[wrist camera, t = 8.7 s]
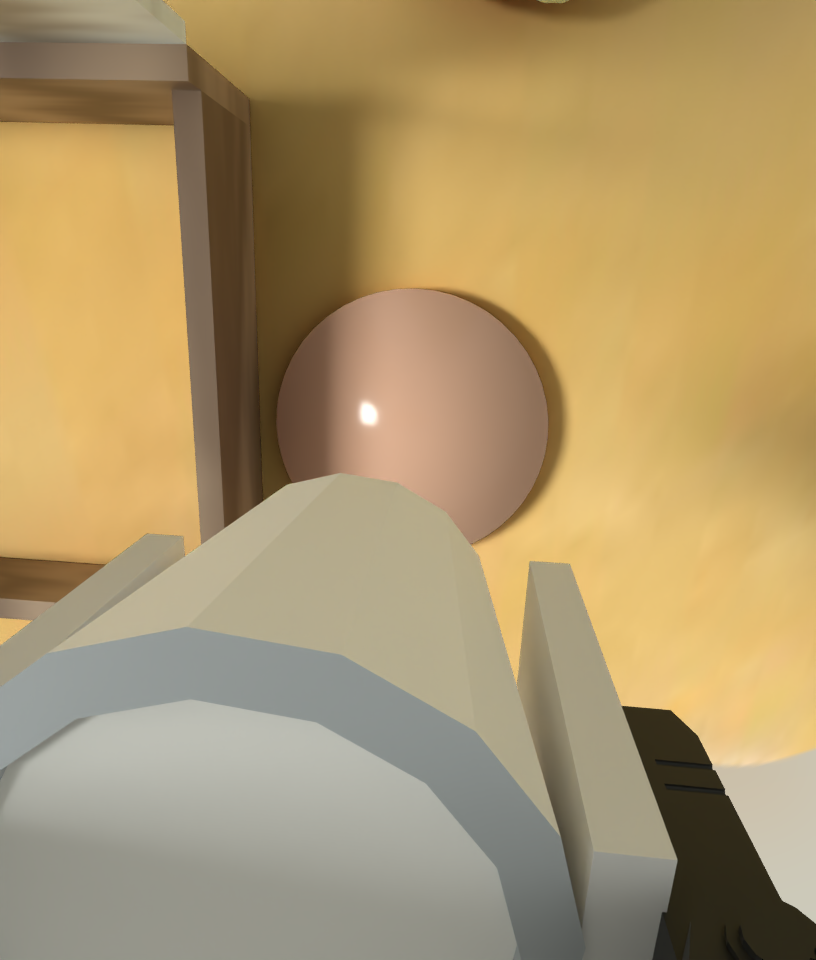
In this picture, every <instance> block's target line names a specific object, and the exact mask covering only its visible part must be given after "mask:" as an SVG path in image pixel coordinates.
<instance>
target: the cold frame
mask: <svg viewBox="0 0 816 960" xmlns="http://www.w3.org/2000/svg"><path fill="white" fill-rule="evenodd" d="M0 121H4V122H51V123H98V124H145V125H174V134H175V149H176V164H177V180H178V195H179V210H180V226H181V241H182V256H183V272H184V287H185V302H186V318H187V333H188V349H189V364H190V379H191V395H192V410H193V425H194V441H195V456H196V471H197V487H198V502H199V517H200V533H201V545H202V544H203V543H204V542H206V541H207V540H209V539H210V538H212V537H213V536H214V535H216V534H217V533H219V532H220V531H222V530H223V529H224V528H226V527H227V526H229V525H230V524H231V523H233V522H234V521H236V520H237V519H239V518H240V517H241V516H243V515H244V514H246V513H247V512H249V511H250V510H251V509H253V508H254V507H256V506H257V505H258V504H260V503H261V502H263V496H262V466H261V436H260V405H259V375H258V345H257V315H256V285H255V255H254V225H253V195H252V165H251V134H250V104H249V98H248V97H247V96H246V95H244V94H243V93H242V92H241V91H240V90H239V89H238V88H236V87H235V86H234V85H233V84H232V83H231V82H229V81H228V80H227V79H226V78H225V77H224V76H223V75H221V74H220V73H219V72H218V71H217V70H216V69H214V68H213V67H212V66H211V65H210V64H209V63H208V62H206V61H205V60H204V59H203V58H202V57H201V56H199V55H198V54H197V53H196V52H195V51H194V50H192V49H191V48H190V47H189V46H188V45H187V44H186V29H185V21H184V20H183V19H182V18H181V17H180V16H179V15H178V14H177V13H176V12H174V11H173V10H172V9H171V8H170V7H169V6H168V5H167V4H166V3H165V2H164V1H163V0H0ZM104 566H105V565H98V564H84V563H70V562H57V561H43V560H29V559H15V558H2V557H0V618H9V619H21V620H34V619H36V618H37V617H38V616H40V615H41V614H42V613H44V612H45V611H46V610H48V609H49V608H50V607H51V606H53V605H54V604H55V603H57V602H58V601H59V600H61V599H62V598H63V597H65V596H66V595H67V594H68V593H70V592H71V591H72V590H74V589H75V588H76V587H78V586H79V585H80V584H82V583H83V582H84V581H85V580H87V579H88V578H89V577H91V576H92V575H93V574H95V573H96V572H97V571H99V570H100V569H101V568H103V567H104Z"/></svg>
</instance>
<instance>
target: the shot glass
mask: <svg viewBox="0 0 816 960" xmlns="http://www.w3.org/2000/svg"><path fill="white" fill-rule="evenodd" d="M585 948H586V947H585V943H584V938H583V934H582V929H581V925H580V921H579V916H578V912H577V907H576V903H575V898H574V894H573V889H572V885H571V880H570V876H569V871H568V867H567V862H566V858H565V853H564V849H563V844H562V840H561V836H560V832H559V829H558V826H557V822H556V819H555V815H554V812H553V808H552V805H551V802H550V798H549V795H548V791H547V788H546V785H545V781H544V778H543V774H542V771H541V767H540V764H539V761H538V757H537V754H536V750H535V747H534V743H533V740H532V737H531V733H530V730H529V726H528V723H527V719H526V716H525V713H524V709H523V706H522V702H521V699H520V695H519V692H518V689H517V685H516V682H515V678H514V675H513V671H512V668H511V665H510V661H509V658H508V654H507V651H506V647H505V644H504V641H503V637H502V634H501V630H500V627H499V624H498V620H497V617H496V613H495V610H494V606H493V603H492V600H491V596H490V593H489V589H488V586H487V582H486V579H485V576H484V572H483V569H482V565H481V562H480V558H479V555H478V554H477V553H476V551H475V550H474V549H473V547H472V546H471V545H470V543H469V542H468V541H467V539H466V538H465V537H464V535H463V534H462V533H461V531H460V530H459V529H458V527H457V526H456V525H455V523H454V522H453V521H452V519H451V518H450V517H449V515H448V514H447V513H446V512H445V511H444V510H442V509H440V508H439V507H437V506H435V505H434V504H432V503H430V502H429V501H427V500H425V499H424V498H422V497H420V496H419V495H417V494H415V493H414V492H412V491H410V490H409V489H407V488H405V487H404V486H402V485H400V484H399V483H397V482H391V481H385V480H380V479H374V478H368V477H362V476H356V475H350V474H344V473H338V474H333V475H329V476H324V477H320V478H315V479H310V480H306V481H301V482H297V483H292V484H288V485H286V486H284V487H283V488H281V489H280V490H278V491H277V492H276V493H274V494H273V495H271V496H270V497H268V498H267V499H266V500H264V501H263V502H261V503H260V504H258V505H257V506H256V507H254V508H253V509H251V510H250V511H249V512H247V513H246V514H244V515H243V516H241V517H240V518H239V519H237V520H236V521H234V522H233V523H231V524H230V525H229V526H227V527H226V528H224V529H223V530H222V531H220V532H219V533H217V534H216V535H214V536H213V537H212V538H210V539H209V540H207V541H206V542H204V543H203V544H202V545H200V546H199V547H197V548H196V549H195V550H193V551H192V552H190V553H189V554H187V555H186V556H185V557H183V558H182V559H180V560H179V561H177V562H176V563H175V564H173V565H172V566H170V567H169V568H168V569H166V570H165V571H163V572H162V573H160V574H159V575H158V576H156V577H155V578H153V579H152V580H150V581H149V582H148V583H146V584H145V585H143V586H142V587H141V588H139V589H138V590H136V591H135V592H133V593H132V594H131V595H129V596H128V597H126V598H125V599H123V600H122V601H121V602H119V603H118V604H116V605H115V606H114V607H112V608H111V609H109V610H108V611H106V612H105V613H104V614H102V615H101V616H99V617H98V618H96V619H95V620H94V621H92V622H91V623H89V624H88V625H87V626H85V627H84V628H82V629H81V630H79V631H78V632H77V633H75V634H74V635H72V636H71V637H69V638H68V639H67V640H65V641H64V642H62V643H61V644H60V645H58V646H57V647H55V648H54V649H52V650H51V651H50V652H48V653H47V654H45V655H44V656H43V657H41V658H40V659H38V660H37V661H36V662H34V663H33V664H32V665H30V666H29V667H27V668H26V669H25V670H23V671H22V672H21V673H19V674H18V675H16V676H15V677H14V678H12V679H11V680H9V681H8V682H7V683H5V684H4V685H3V686H1V687H0V960H582V958H583V955H584V952H585Z"/></svg>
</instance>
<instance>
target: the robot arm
mask: <svg viewBox="0 0 816 960" xmlns="http://www.w3.org/2000/svg"><path fill="white" fill-rule="evenodd" d="M183 557H185V552H184V538H183V536H173V535H159V534H146V535H144V536H143V537H142V538H141V539H139V540H138V541H137V542H135V543H134V544H133V545H131V546H130V547H129V548H127V549H126V550H125V551H123V552H122V553H121V554H120V555H118V556H117V557H116V558H114V559H113V560H112V561H110V562H109V563H108V564H106V565H105V566H104V567H103V568H101V569H100V570H99V571H97V572H96V573H95V574H93V575H92V576H91V577H89V578H88V579H87V580H85V581H84V582H83V583H82V584H80V585H79V586H78V587H76V588H75V589H74V590H72V591H71V592H70V593H68V594H67V595H66V596H65V597H63V598H62V599H61V600H59V601H58V602H57V603H55V604H54V605H53V606H51V607H50V608H49V609H48V610H46V611H45V612H44V613H42V614H41V615H40V616H38V617H37V618H36V619H34V620H33V621H32V622H30V623H29V624H28V625H27V626H25V627H24V628H23V629H21V630H20V631H19V632H17V633H16V634H15V635H13V636H12V637H11V638H10V639H8V640H7V641H6V642H4V643H3V644H2V645H0V687H1V686H3V685H4V684H5V683H7V682H8V681H9V680H11V679H12V678H14V677H15V676H16V675H18V674H19V673H21V672H22V671H23V670H25V669H26V668H27V667H29V666H30V665H32V664H33V663H34V662H36V661H37V660H38V659H40V658H41V657H43V656H44V655H45V654H47V653H48V652H50V651H51V650H52V649H54V648H55V647H57V646H58V645H60V644H61V643H62V642H64V641H65V640H67V639H68V638H69V637H71V636H72V635H74V634H75V633H77V632H78V631H79V630H81V629H82V628H84V627H85V626H87V625H88V624H89V623H91V622H92V621H94V620H95V619H96V618H98V617H99V616H101V615H102V614H104V613H105V612H106V611H108V610H109V609H111V608H112V607H114V606H115V605H116V604H118V603H119V602H121V601H122V600H123V599H125V598H126V597H128V596H129V595H131V594H132V593H133V592H135V591H136V590H138V589H139V588H141V587H142V586H143V585H145V584H146V583H148V582H149V581H150V580H152V579H153V578H155V577H156V576H158V575H159V574H160V573H162V572H163V571H165V570H166V569H168V568H169V567H170V566H172V565H173V564H175V563H176V562H177V561H179V560H180V559H182V558H183ZM517 686H518V692H519V695H520V699H521V702H522V706H523V709H524V713H525V716H526V719H527V723H528V726H529V730H530V733H531V737H532V740H533V743H534V747H535V750H536V754H537V757H538V761H539V764H540V767H541V771H542V774H543V778H544V781H545V785H546V788H547V791H548V795H549V798H550V802H551V805H552V808H553V812H554V815H555V819H556V822H557V826H558V829H559V832H560V836H561V840H562V844H563V849H564V853H565V858H566V862H567V867H568V871H569V876H570V880H571V885H572V889H573V894H574V898H575V903H576V907H577V912H578V916H579V921H580V925H581V929H582V934H583V938H584V943H585V947H586V948H585V952H584V955H583V958H582V960H816V924H815V923H814V922H813V921H812V920H810V919H809V918H808V917H806V916H805V915H804V914H803V913H802V912H800V911H799V910H798V909H797V908H795V907H793V906H791V905H789V904H787V903H785V902H783V901H782V900H781V898H780V896H779V894H778V892H777V891H776V889H775V887H774V885H773V883H772V881H771V879H770V877H769V875H768V873H767V871H766V869H765V867H764V865H763V863H762V861H761V859H760V857H759V855H758V853H757V851H756V849H755V847H754V845H753V843H752V841H751V839H750V838H749V836H748V834H747V832H746V830H745V828H744V826H743V824H742V822H741V820H740V818H739V816H738V814H737V812H736V810H735V808H734V806H733V804H732V802H731V800H730V798H729V796H726V795H725V788H724V787H723V785H722V783H721V781H720V779H719V777H718V775H717V773H716V771H715V770H713V769H712V763H711V761H710V759H709V757H708V755H707V753H706V751H705V749H704V747H703V745H702V743H701V741H700V739H699V737H698V736H697V735H696V734H695V733H694V732H693V731H692V730H691V729H690V728H689V727H688V726H687V725H686V724H685V723H684V722H682V721H681V720H680V719H679V718H678V717H677V716H676V715H675V714H674V713H673V712H672V711H671V710H662V709H650V708H639V707H628V706H621V703H620V700H619V698H618V695H617V692H616V690H615V687H614V684H613V681H612V679H611V676H610V673H609V670H608V668H607V665H606V662H605V659H604V657H603V654H602V651H601V648H600V646H599V643H598V640H597V637H596V635H595V632H594V629H593V626H592V624H591V621H590V618H589V615H588V613H587V610H586V607H585V604H584V602H583V599H582V596H581V593H580V591H579V588H578V585H577V582H576V580H575V577H574V574H573V571H572V569H571V566H570V564H564V563H550V562H536V561H530V563H529V573H528V582H527V592H526V602H525V612H524V622H523V631H522V641H521V651H520V661H519V671H518V680H517Z"/></svg>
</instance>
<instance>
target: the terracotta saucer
mask: <svg viewBox="0 0 816 960" xmlns="http://www.w3.org/2000/svg"><path fill="white" fill-rule="evenodd" d="M276 425H277V436H278V443H279V448H280V452H281V457H282V460H283V463H284V465H285V468H286V471H287V474H288V475H289V477H290V479H291V481H292V483H297V482H301V481H306V480H310V479H315V478H320V477H324V476H329V475H333V474H338V473H344V474H350V475H356V476H362V477H368V478H374V479H380V480H385V481H391V482H397V483H399V484H400V485H402V486H404V487H405V488H407V489H409V490H410V491H412V492H414V493H415V494H417V495H419V496H420V497H422V498H424V499H425V500H427V501H429V502H430V503H432V504H434V505H435V506H437V507H439V508H440V509H442V510H444V511H445V512H446V513H447V514H448V515H449V517H450V518H451V519H452V521H453V522H454V523H455V525H456V526H457V527H458V529H459V530H460V531H461V533H462V534H463V535H464V537H465V538H466V539H467V541H468V542H469V543H470V544H472V543H474V542H476V541H478V540H480V539H482V538H484V537H486V536H487V535H488V534H490V533H491V532H493V531H494V530H496V529H497V528H498V527H500V526H501V525H502V524H503V523H504V522H505V521H506V520H507V519H509V518H510V517H511V516H512V515H513V513H514V512H515V511H516V510H517V509H518V508H519V506H520V505H521V504H522V503H523V501H524V500H525V498H526V497H527V495H528V494H529V492H530V491H531V489H532V487H533V485H534V483H535V481H536V479H537V477H538V474H539V472H540V469H541V466H542V463H543V460H544V456H545V451H546V445H547V440H548V412H547V402H546V398H545V394H544V390H543V386H542V383H541V380H540V378H539V375H538V373H537V370H536V368H535V366H534V364H533V362H532V360H531V359H530V357H529V355H528V353H527V351H526V350H525V349H524V347H523V346H522V345H521V343H520V342H519V341H518V339H517V338H516V337H515V336H514V335H513V334H512V333H511V332H510V331H509V330H508V329H507V328H506V327H505V326H504V325H503V324H502V323H501V322H500V321H499V320H498V319H496V318H495V317H494V316H492V315H491V314H490V313H488V312H487V311H486V310H484V309H482V308H480V307H478V306H477V305H475V304H473V303H471V302H469V301H467V300H464V299H462V298H459V297H457V296H454V295H451V294H447V293H443V292H439V291H435V290H426V289H395V290H389V291H383V292H377V293H374V294H371V295H368V296H365V297H361V298H359V299H357V300H355V301H353V302H350V303H348V304H346V305H344V306H342V307H341V308H339V309H338V310H336V311H335V312H333V313H332V314H330V315H329V316H327V317H326V318H325V319H324V320H323V321H322V322H320V323H319V324H318V325H317V326H316V327H315V328H314V329H313V330H312V331H311V332H310V333H309V335H308V336H307V337H306V338H305V339H304V340H303V342H302V343H301V345H300V346H299V348H298V349H297V351H296V352H295V354H294V355H293V357H292V359H291V361H290V363H289V366H288V368H287V370H286V372H285V375H284V378H283V381H282V384H281V388H280V392H279V398H278V403H277V419H276Z"/></svg>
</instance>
